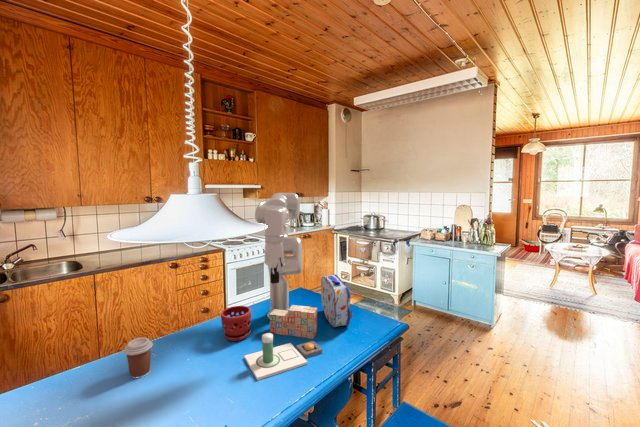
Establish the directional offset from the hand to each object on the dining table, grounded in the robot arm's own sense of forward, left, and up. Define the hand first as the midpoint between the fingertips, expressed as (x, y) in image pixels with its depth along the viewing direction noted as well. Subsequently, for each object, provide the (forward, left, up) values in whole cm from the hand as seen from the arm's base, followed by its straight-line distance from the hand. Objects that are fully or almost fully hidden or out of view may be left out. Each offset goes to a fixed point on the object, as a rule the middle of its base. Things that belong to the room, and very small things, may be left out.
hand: (274, 282), depth 128 cm
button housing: (+9, +11, -29) cm, 32 cm away
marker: (+9, -7, -27) cm, 30 cm away
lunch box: (-11, +37, -29) cm, 48 cm away
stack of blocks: (-8, +12, -29) cm, 32 cm away
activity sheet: (+9, -4, -29) cm, 30 cm away
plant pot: (-18, -12, -29) cm, 36 cm away
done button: (+9, +11, -28) cm, 32 cm away
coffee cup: (-8, -50, -29) cm, 58 cm away
